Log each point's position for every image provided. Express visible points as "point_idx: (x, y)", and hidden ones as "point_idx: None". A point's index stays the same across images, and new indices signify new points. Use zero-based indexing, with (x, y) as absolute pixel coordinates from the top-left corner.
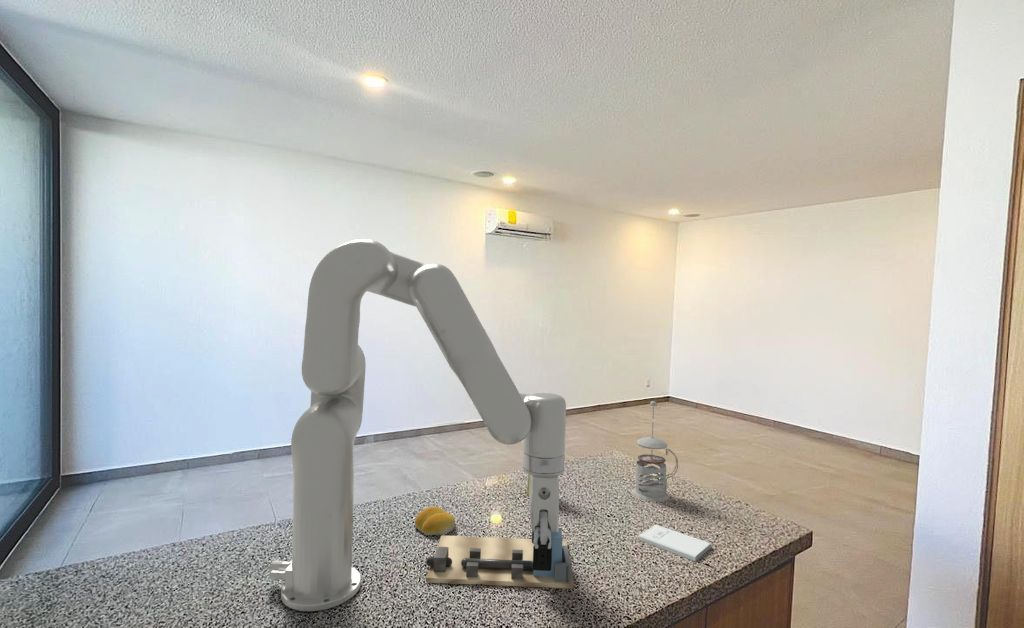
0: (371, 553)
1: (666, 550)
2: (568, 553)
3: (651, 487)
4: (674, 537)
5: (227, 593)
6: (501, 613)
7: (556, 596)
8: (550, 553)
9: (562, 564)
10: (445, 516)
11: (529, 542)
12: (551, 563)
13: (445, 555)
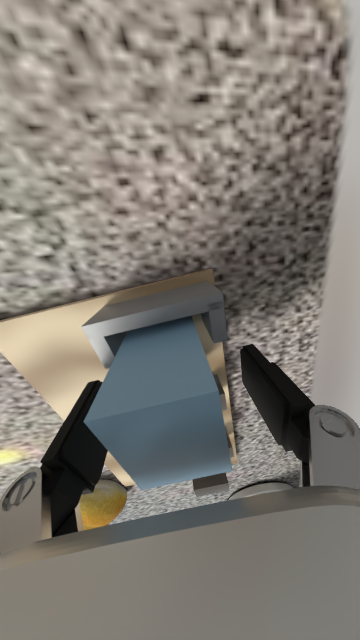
0: (189, 500)
1: None
2: (139, 313)
3: None
4: None
5: None
6: (299, 373)
7: (246, 302)
8: (286, 385)
9: (221, 320)
10: (91, 518)
11: (63, 397)
12: (262, 355)
13: (220, 485)
